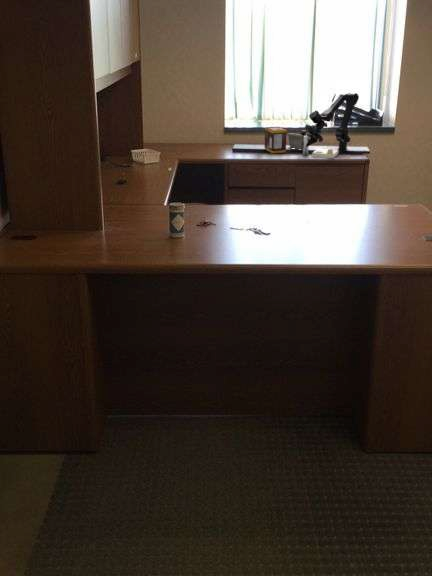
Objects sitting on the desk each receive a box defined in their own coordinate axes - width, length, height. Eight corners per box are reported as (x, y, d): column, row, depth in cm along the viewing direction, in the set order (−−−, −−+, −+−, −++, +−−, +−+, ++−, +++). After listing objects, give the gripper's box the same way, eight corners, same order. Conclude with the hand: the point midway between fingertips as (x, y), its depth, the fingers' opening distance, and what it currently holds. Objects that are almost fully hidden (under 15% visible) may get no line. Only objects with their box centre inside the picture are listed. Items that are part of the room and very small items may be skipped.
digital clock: (310, 149, 449) (310, 134, 444) (301, 151, 444) (302, 136, 439) (293, 146, 460) (294, 131, 456) (285, 147, 455) (285, 132, 451)
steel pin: (303, 154, 434) (304, 135, 428) (308, 155, 432) (309, 135, 427) (302, 155, 430) (303, 136, 425) (307, 156, 429) (308, 136, 424)
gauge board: (317, 152, 441) (318, 144, 439) (338, 153, 436) (338, 146, 434) (312, 156, 428) (312, 149, 426) (333, 158, 423) (333, 150, 421)
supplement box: (277, 148, 454) (278, 126, 447) (286, 152, 440) (287, 129, 434) (264, 149, 451) (264, 127, 444) (272, 153, 437) (273, 130, 431)
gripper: (303, 118, 431) (289, 136, 430) (320, 122, 416) (307, 140, 416) (311, 128, 438) (298, 146, 437) (329, 132, 423) (315, 151, 423)
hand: (304, 145), depth 428 cm, fingers closed on steel pin, 4 cm apart
